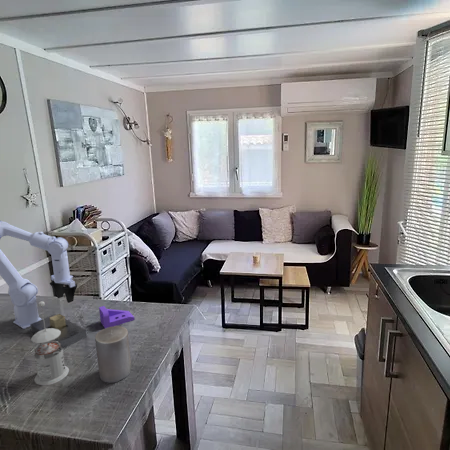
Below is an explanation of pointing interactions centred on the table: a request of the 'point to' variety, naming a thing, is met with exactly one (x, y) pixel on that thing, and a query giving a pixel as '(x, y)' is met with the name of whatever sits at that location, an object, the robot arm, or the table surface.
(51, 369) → the french press
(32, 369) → the table surface
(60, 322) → the brass peg
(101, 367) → the pillar candle
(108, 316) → the bracket
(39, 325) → the dark grey slotted block
